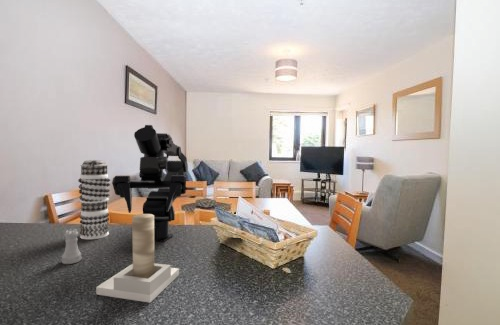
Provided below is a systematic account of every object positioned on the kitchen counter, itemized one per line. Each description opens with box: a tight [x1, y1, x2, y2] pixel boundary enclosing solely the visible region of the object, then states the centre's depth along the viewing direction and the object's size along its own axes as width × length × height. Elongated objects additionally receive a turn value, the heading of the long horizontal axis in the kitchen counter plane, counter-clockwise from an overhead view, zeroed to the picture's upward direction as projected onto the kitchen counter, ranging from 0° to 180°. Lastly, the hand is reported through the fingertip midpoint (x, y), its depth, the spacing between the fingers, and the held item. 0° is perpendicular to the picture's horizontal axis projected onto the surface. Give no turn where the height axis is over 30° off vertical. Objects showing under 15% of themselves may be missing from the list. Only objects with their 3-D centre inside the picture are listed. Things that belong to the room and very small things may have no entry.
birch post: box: [131, 213, 155, 279], centre depth 56 cm, size 4×4×14 cm
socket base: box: [95, 262, 180, 303], centre depth 59 cm, size 12×12×4 cm
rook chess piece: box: [60, 228, 83, 265], centre depth 70 cm, size 4×4×8 cm
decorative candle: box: [77, 159, 111, 240], centre depth 90 cm, size 9×9×25 cm
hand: (148, 211), depth 70 cm, fingers open, 9 cm apart
